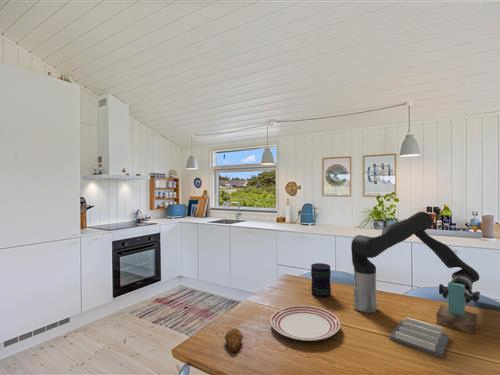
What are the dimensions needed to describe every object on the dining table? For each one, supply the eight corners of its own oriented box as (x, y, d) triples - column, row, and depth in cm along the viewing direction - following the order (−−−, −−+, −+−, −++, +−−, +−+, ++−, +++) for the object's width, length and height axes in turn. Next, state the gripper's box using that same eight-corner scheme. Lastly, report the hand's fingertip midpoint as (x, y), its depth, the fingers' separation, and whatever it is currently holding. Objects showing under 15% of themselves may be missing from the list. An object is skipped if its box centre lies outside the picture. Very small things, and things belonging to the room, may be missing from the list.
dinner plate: (261, 340, 101) (261, 331, 101) (279, 308, 126) (279, 301, 126) (339, 354, 91) (339, 345, 91) (341, 316, 117) (341, 309, 117)
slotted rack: (389, 339, 99) (389, 330, 99) (401, 323, 110) (401, 315, 110) (442, 357, 88) (442, 347, 88) (449, 337, 99) (449, 329, 99)
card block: (448, 312, 110) (448, 283, 110) (449, 310, 112) (449, 281, 112) (464, 316, 107) (463, 286, 107) (464, 314, 108) (464, 284, 108)
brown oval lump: (225, 333, 106) (225, 320, 106) (243, 332, 106) (242, 320, 106) (223, 355, 92) (223, 340, 92) (243, 354, 92) (243, 339, 92)
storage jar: (310, 290, 146) (310, 262, 146) (329, 291, 145) (328, 263, 145) (312, 298, 136) (311, 268, 136) (332, 298, 135) (331, 269, 135)
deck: (436, 323, 110) (436, 313, 110) (441, 314, 117) (440, 305, 117) (475, 334, 102) (474, 323, 101) (477, 323, 109) (477, 313, 109)
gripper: (441, 274, 124) (433, 284, 112) (482, 281, 115) (479, 293, 102) (441, 290, 125) (434, 302, 112) (482, 299, 115) (479, 313, 102)
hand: (455, 298), depth 107 cm, fingers open, 6 cm apart
